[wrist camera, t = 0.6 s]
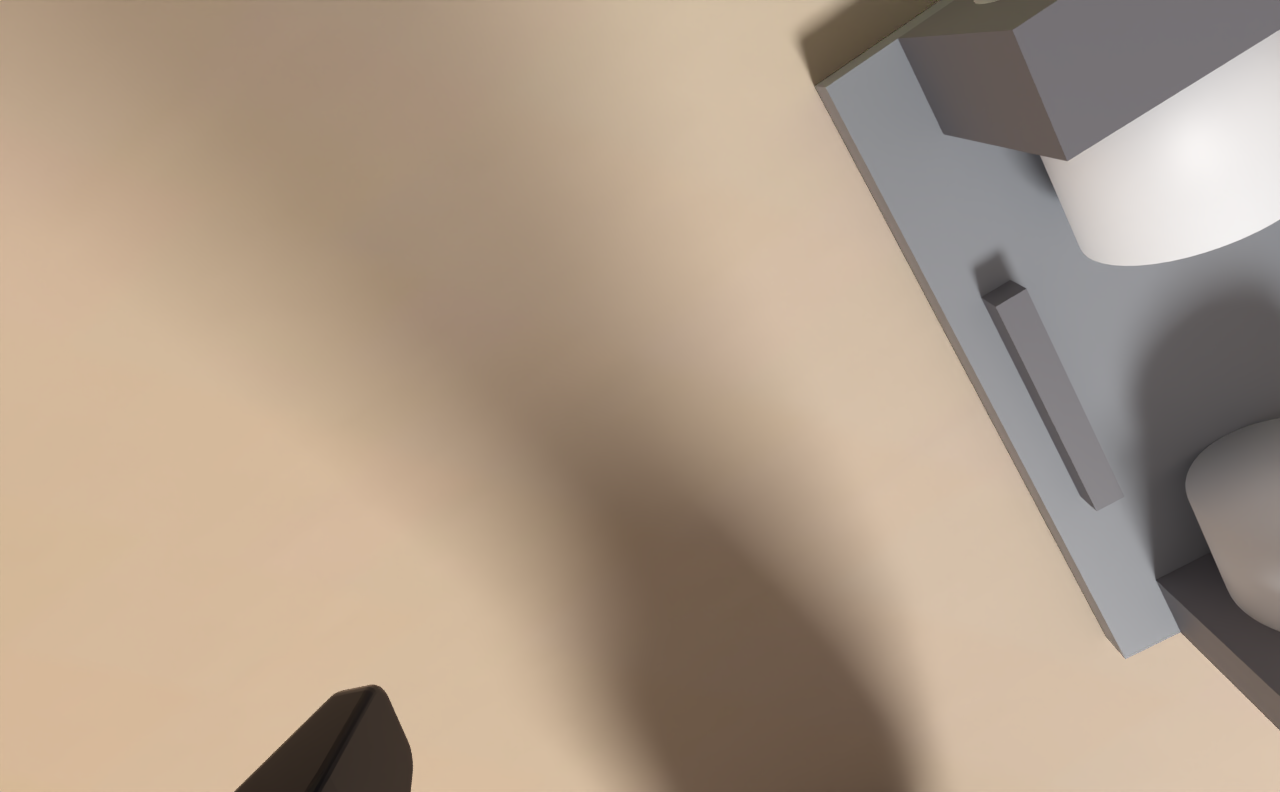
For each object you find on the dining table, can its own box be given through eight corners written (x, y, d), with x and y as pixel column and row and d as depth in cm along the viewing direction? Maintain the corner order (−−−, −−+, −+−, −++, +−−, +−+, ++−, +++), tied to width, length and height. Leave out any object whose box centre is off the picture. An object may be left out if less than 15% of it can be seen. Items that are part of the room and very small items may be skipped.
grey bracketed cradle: (1419, 482, 24) (1680, 617, 18) (1106, 637, 25) (1252, 803, 20) (1227, -196, 16) (1558, -332, 11) (814, 86, 18) (910, 97, 13)
